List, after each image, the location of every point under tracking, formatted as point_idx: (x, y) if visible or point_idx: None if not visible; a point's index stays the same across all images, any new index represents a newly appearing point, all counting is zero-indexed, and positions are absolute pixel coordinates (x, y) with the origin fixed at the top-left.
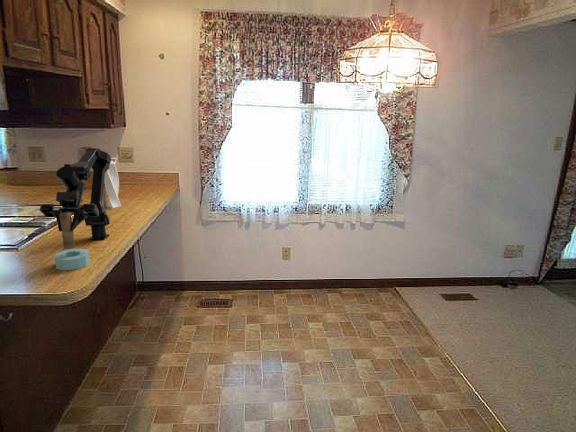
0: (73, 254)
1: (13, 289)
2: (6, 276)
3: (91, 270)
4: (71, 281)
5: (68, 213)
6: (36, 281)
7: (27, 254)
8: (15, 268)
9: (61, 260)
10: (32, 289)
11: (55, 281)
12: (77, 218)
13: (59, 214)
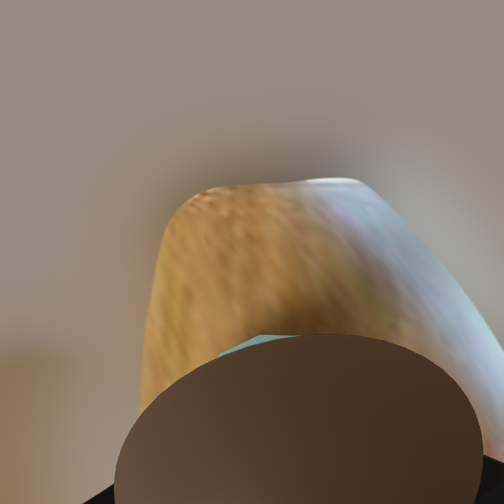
0: None
1: (358, 197)
2: (447, 275)
3: (172, 342)
4: (211, 249)
5: (161, 500)
6: (331, 245)
7: (494, 456)
8: (468, 339)
9: (294, 336)
10: (305, 198)
11: (266, 247)
12: (107, 497)
13: (444, 376)
